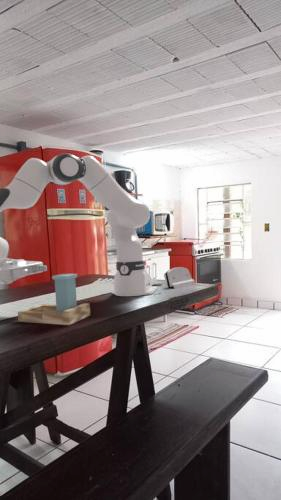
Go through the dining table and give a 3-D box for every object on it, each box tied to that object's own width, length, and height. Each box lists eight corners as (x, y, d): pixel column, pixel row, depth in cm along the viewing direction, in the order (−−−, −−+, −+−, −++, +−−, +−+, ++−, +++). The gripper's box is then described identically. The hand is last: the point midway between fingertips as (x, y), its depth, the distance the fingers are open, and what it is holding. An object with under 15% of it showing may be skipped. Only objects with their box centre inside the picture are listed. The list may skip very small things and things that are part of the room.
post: (65, 313, 112) (62, 273, 112) (79, 314, 110) (77, 273, 110) (54, 317, 107) (52, 276, 107) (69, 318, 105) (67, 276, 105)
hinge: (174, 288, 158) (168, 267, 160) (167, 291, 161) (160, 270, 163) (196, 283, 170) (189, 264, 172) (188, 286, 173) (182, 267, 175)
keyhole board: (43, 312, 120) (42, 301, 120) (90, 315, 112) (89, 303, 112) (18, 321, 109) (17, 308, 109) (69, 325, 101) (68, 311, 101)
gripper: (-21, 266, 110) (12, 264, 104) (23, 258, 129) (54, 257, 123) (-19, 285, 110) (14, 285, 105) (25, 275, 129) (56, 275, 124)
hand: (36, 270), depth 114 cm, fingers open, 8 cm apart
